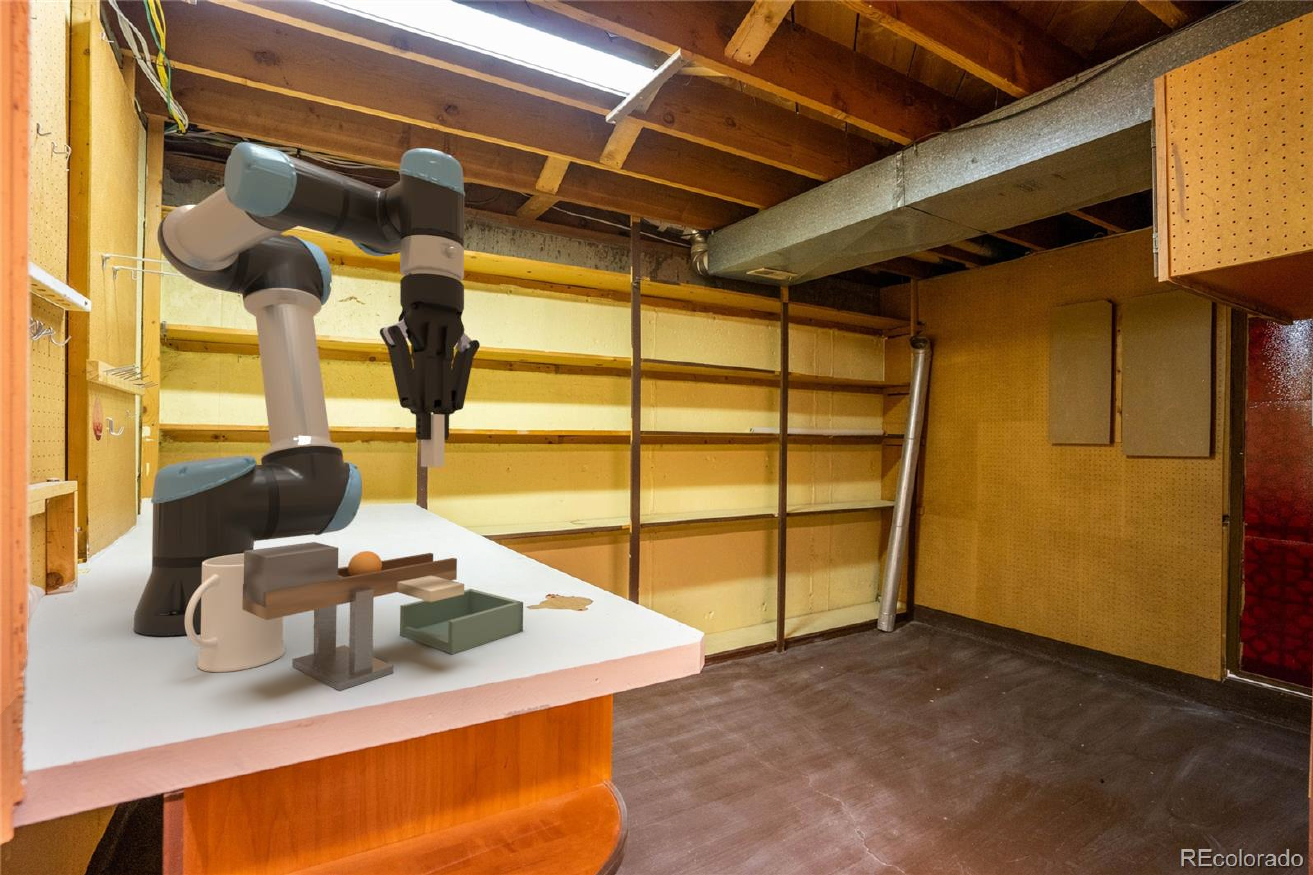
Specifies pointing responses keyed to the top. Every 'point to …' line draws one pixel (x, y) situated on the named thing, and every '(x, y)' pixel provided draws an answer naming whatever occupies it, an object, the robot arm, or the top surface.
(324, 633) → the stand
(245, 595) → the lever
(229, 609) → the mug
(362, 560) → the ball
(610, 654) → the top surface
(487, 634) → the tray
